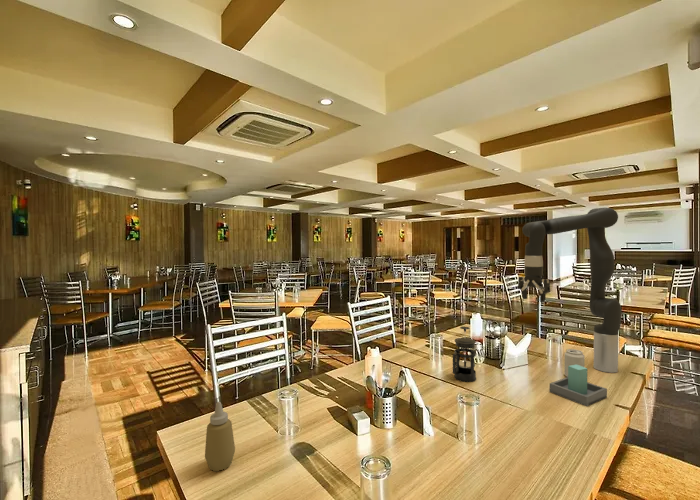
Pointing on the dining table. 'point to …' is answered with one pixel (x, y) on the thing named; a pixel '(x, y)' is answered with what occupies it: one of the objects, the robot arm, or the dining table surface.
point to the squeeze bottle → (219, 440)
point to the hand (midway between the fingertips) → (533, 300)
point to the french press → (465, 368)
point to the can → (573, 359)
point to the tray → (590, 398)
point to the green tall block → (577, 379)
